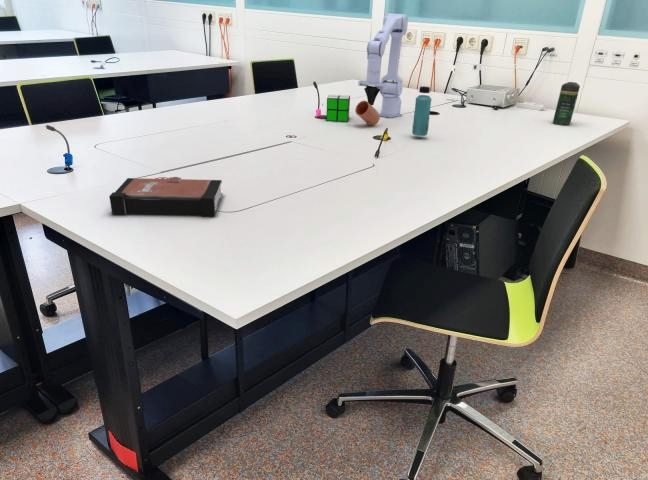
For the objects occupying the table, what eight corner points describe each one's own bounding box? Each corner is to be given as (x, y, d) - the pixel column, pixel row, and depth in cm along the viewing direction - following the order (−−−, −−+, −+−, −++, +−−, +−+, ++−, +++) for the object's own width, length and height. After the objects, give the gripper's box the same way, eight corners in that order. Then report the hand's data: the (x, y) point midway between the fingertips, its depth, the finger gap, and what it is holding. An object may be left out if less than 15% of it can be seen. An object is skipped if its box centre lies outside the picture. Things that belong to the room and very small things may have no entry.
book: (223, 194, 156) (222, 177, 153) (214, 216, 141) (213, 198, 138) (130, 192, 154) (128, 175, 152) (112, 214, 139) (109, 196, 137)
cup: (370, 110, 244) (359, 99, 236) (382, 112, 240) (371, 101, 232) (364, 124, 245) (352, 113, 237) (375, 127, 241) (364, 116, 233)
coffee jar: (568, 126, 255) (579, 84, 246) (551, 124, 258) (561, 82, 249) (571, 122, 262) (582, 82, 253) (554, 120, 265) (564, 80, 256)
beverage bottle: (426, 140, 222) (433, 88, 212) (410, 138, 223) (416, 87, 213) (427, 136, 227) (433, 86, 217) (411, 135, 228) (417, 85, 218)
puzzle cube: (349, 117, 256) (350, 95, 251) (347, 122, 248) (349, 99, 243) (327, 116, 257) (328, 94, 252) (326, 120, 248) (326, 97, 243)
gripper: (354, 70, 233) (352, 103, 239) (381, 73, 225) (378, 108, 231) (365, 69, 238) (362, 102, 244) (391, 73, 229) (388, 106, 236)
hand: (370, 105), depth 238 cm, fingers closed, pressing on cup
